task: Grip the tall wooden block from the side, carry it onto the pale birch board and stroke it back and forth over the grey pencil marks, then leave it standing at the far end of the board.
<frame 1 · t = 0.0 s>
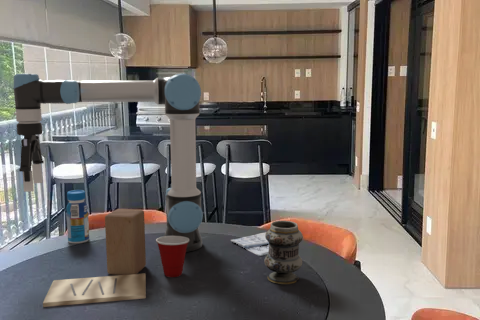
hand: (33, 187, 157), 28 cm above the table, tool pointing down, fingers open, 13 cm apart
board: (98, 290, 144), on the table
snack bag: (264, 246, 185), on the table
wooden block: (127, 270, 160), on the table
apothecary jar: (283, 279, 153), on the table
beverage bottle: (78, 241, 191), on the table
plastic cup: (173, 274, 157), on the table
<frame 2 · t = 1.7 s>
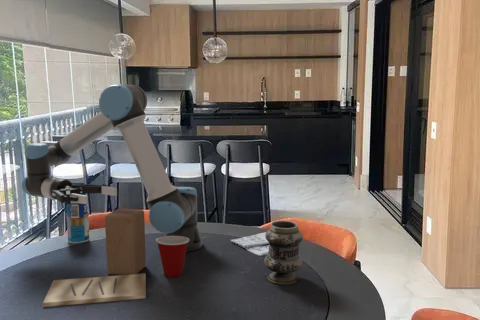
hand: (102, 195, 161), 24 cm above the table, tool horizontal, fingers open, 13 cm apart
nothing on the table moved.
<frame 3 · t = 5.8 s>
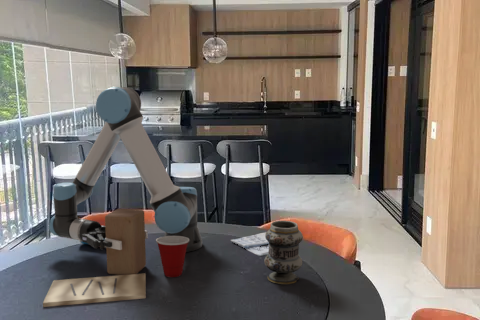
hand: (134, 240, 156), 11 cm above the table, tool horizontal, fingers closed on wooden block, 12 cm apart
wooden block: (127, 270, 160), on the table, touching gripper
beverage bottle: (83, 233, 187), point 4 cm above the table
everything else where it was.
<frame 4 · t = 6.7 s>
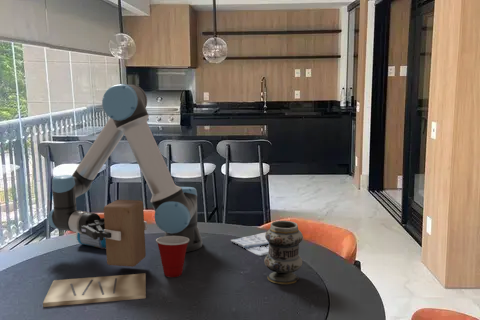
hand: (133, 230, 156), 14 cm above the table, tool horizontal, fingers closed on wooden block, 12 cm apart
wooden block: (126, 262, 159), point 3 cm above the table, touching gripper
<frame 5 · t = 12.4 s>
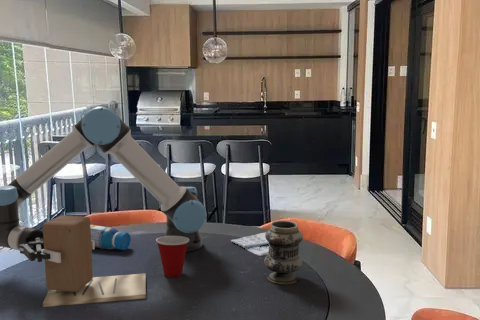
hand: (77, 251, 138), 14 cm above the table, tool horizontal, fingers closed on wooden block, 12 cm apart
wooden block: (70, 285, 142), point 2 cm above the table, touching gripper
everything else where it was.
when the fingers open (13 cm above the table, at t = 19.2 s): wooden block drops 1 cm, resting on board.
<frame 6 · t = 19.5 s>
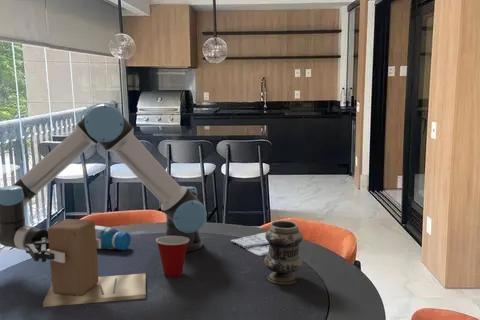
hand: (82, 250, 139), 13 cm above the table, tool horizontal, fingers open, 13 cm apart
wooden block: (76, 288, 142), point 1 cm above the table, touching board
everything else where it was.
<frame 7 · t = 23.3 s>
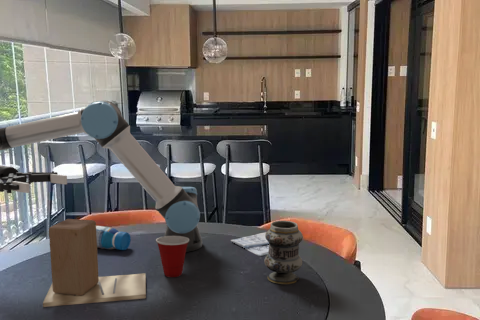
hand: (47, 183, 142), 32 cm above the table, tool horizontal, fingers open, 13 cm apart
nothing on the table moved.
at the end: wooden block inside the target area (0.4 cm from its centre), point 1.1 cm above the table; wooden block tilted 0°; the gripper is holding nothing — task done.
